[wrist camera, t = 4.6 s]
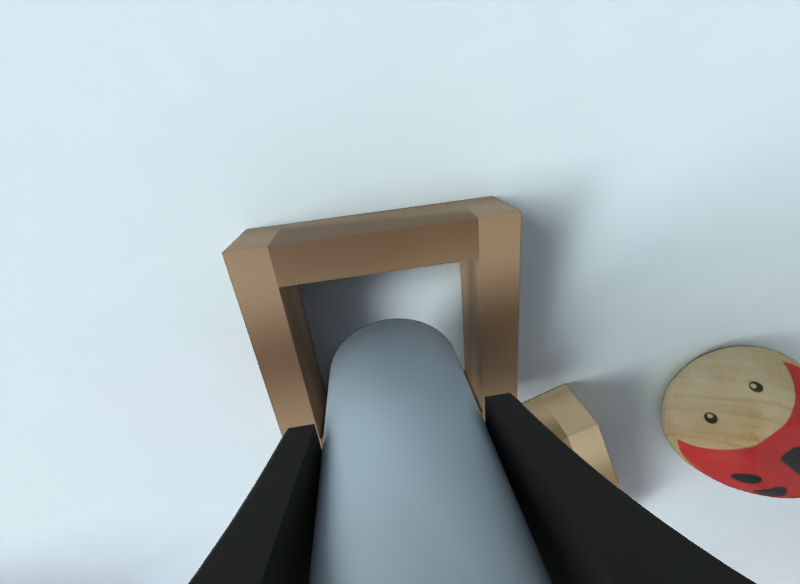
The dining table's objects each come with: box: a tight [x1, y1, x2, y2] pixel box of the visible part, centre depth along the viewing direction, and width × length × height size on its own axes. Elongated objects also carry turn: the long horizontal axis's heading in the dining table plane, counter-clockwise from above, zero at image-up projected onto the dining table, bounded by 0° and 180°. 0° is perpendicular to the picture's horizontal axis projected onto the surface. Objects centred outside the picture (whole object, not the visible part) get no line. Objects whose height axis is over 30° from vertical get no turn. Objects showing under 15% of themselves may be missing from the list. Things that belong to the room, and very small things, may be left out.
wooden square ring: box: [222, 196, 521, 449], centre depth 14 cm, size 8×8×2 cm
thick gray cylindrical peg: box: [309, 319, 552, 584], centre depth 8 cm, size 4×4×8 cm
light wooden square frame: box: [522, 384, 621, 490], centre depth 18 cm, size 8×8×2 cm
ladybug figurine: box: [661, 346, 800, 498], centre depth 17 cm, size 7×10×4 cm
